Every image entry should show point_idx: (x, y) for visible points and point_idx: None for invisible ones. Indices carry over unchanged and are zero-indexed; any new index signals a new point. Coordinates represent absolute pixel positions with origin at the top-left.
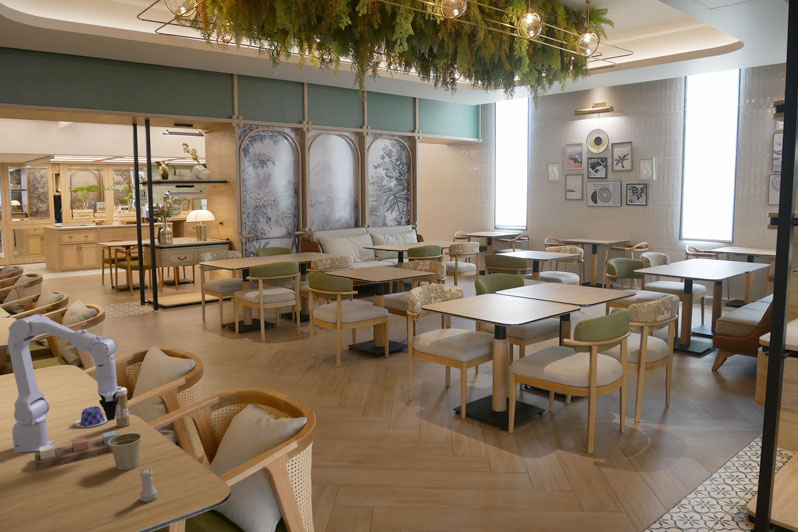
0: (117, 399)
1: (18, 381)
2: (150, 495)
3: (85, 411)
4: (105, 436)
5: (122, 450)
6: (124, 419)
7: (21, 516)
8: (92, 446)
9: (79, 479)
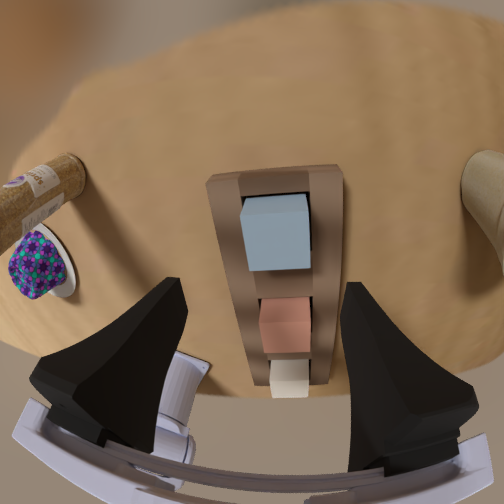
0: (468, 411)
1: None
2: None
3: (35, 296)
4: (301, 262)
5: None
6: (65, 176)
7: (490, 354)
8: (296, 286)
9: (459, 299)
